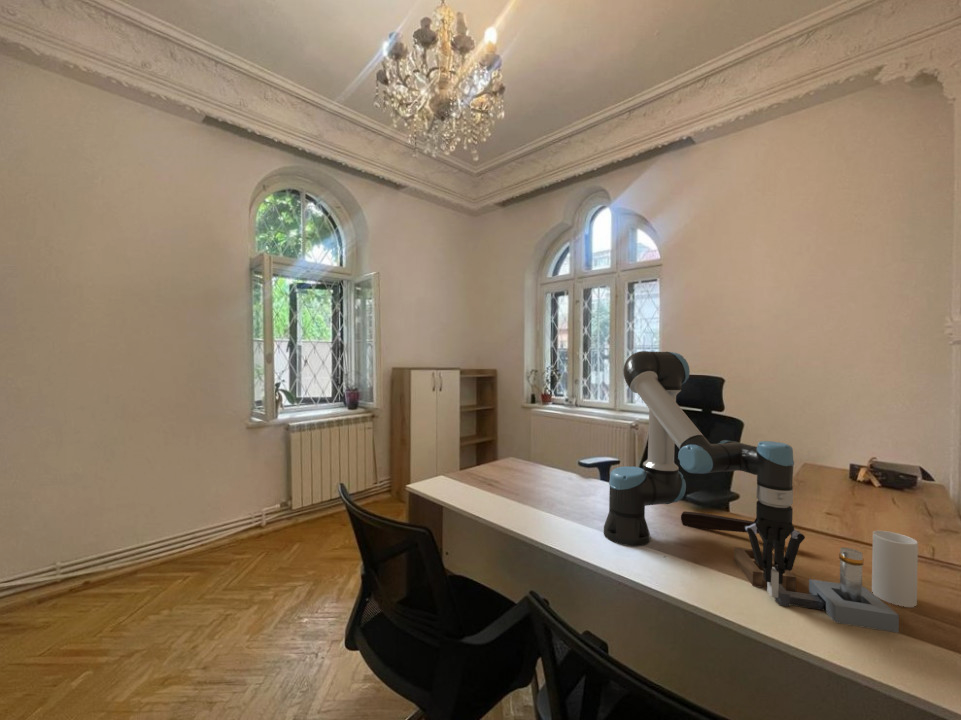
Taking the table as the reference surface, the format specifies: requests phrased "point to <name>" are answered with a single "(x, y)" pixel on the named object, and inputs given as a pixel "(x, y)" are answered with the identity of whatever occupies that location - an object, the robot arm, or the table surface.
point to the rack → (759, 569)
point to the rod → (851, 574)
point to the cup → (895, 568)
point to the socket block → (855, 608)
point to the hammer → (715, 522)
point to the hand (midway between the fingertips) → (772, 594)
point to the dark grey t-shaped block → (799, 599)
